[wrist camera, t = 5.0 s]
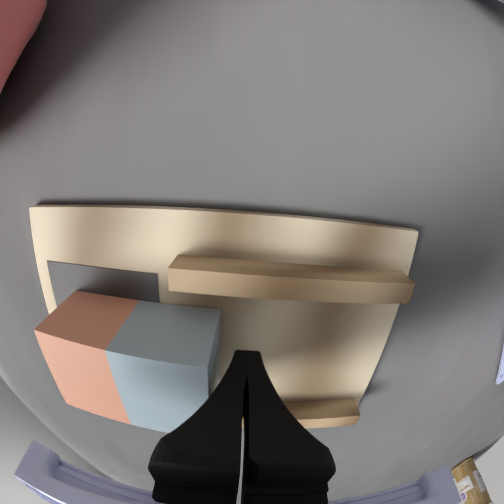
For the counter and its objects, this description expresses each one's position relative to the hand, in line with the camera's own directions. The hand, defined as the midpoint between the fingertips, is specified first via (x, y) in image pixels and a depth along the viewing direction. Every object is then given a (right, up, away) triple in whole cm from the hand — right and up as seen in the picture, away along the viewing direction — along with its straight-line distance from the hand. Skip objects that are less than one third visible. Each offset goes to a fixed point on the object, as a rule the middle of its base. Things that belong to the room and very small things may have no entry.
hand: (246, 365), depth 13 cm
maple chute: (-2, +1, +2) cm, 3 cm away
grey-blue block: (-3, +1, +1) cm, 4 cm away
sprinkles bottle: (+36, -31, +12) cm, 49 cm away
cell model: (-17, +18, -4) cm, 25 cm away
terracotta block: (-7, +1, +1) cm, 7 cm away
